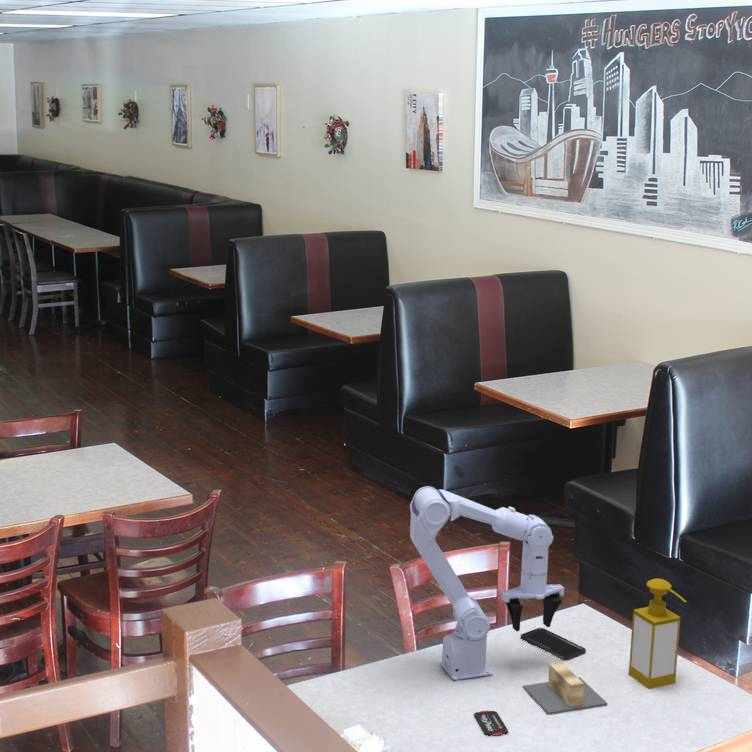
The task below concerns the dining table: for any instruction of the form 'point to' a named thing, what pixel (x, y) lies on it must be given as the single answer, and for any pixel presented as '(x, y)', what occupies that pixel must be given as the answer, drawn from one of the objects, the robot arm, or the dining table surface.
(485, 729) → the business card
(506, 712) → the dining table surface
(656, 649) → the soap bottle
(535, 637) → the phone
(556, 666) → the oak domino
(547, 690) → the rubber mat
